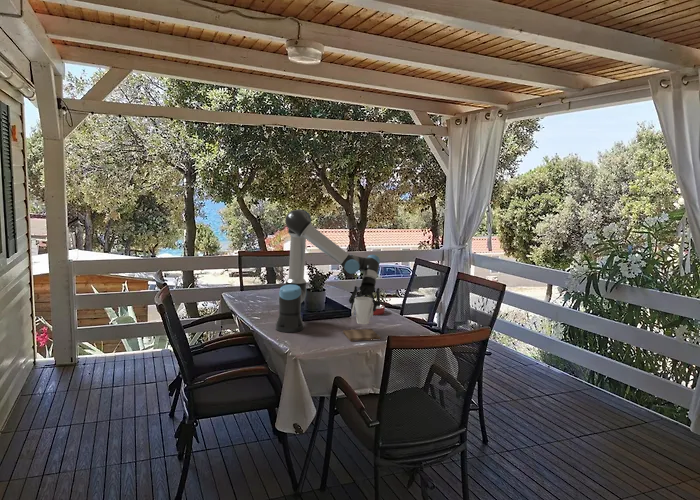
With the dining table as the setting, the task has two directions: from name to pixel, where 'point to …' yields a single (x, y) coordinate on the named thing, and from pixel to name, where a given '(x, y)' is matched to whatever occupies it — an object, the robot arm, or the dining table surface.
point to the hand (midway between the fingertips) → (361, 315)
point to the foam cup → (363, 309)
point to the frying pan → (379, 310)
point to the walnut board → (361, 334)
